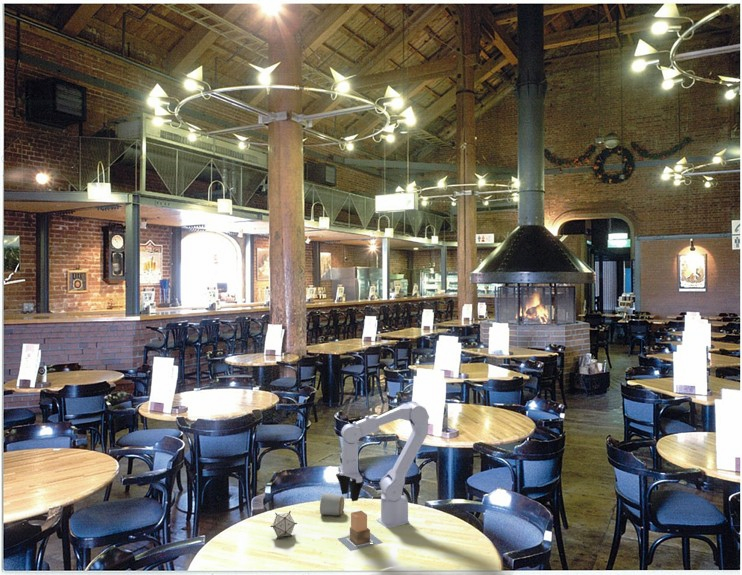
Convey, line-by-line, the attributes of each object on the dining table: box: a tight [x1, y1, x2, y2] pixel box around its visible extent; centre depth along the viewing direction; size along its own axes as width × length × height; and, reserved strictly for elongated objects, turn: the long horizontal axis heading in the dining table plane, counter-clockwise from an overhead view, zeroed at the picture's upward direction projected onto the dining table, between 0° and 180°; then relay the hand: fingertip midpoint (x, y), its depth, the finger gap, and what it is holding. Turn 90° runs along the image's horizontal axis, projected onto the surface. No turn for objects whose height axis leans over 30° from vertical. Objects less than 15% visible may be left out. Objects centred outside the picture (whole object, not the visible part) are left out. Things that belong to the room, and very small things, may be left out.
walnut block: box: [349, 526, 371, 545], centre depth 183 cm, size 5×5×4 cm
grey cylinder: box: [319, 492, 345, 517], centre depth 207 cm, size 11×8×8 cm
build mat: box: [337, 532, 384, 552], centre depth 182 cm, size 12×10×1 cm
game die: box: [269, 510, 298, 540], centre depth 186 cm, size 9×8×10 cm
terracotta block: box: [350, 510, 368, 532], centre depth 182 cm, size 4×4×5 cm
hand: (349, 497), depth 195 cm, fingers open, 7 cm apart
